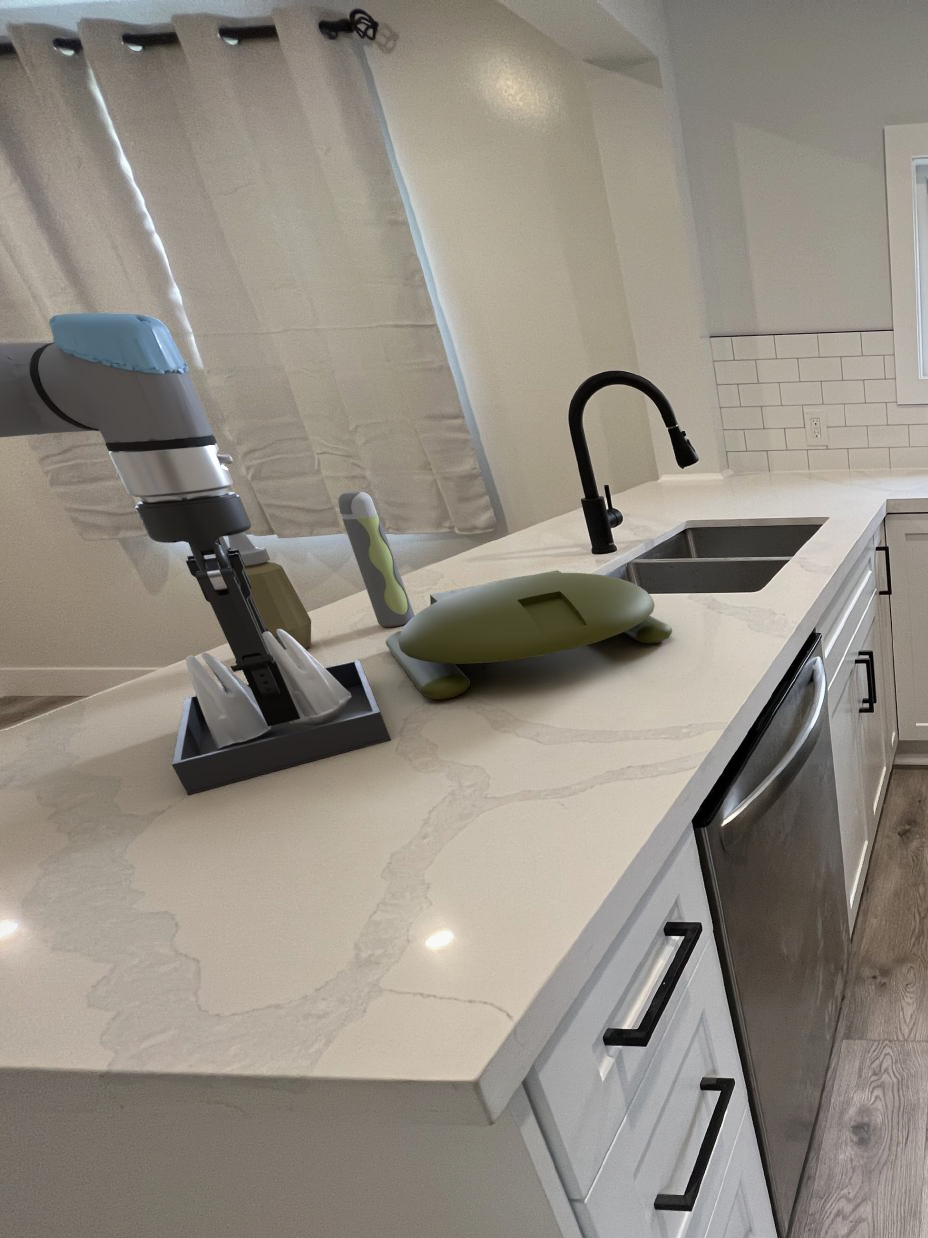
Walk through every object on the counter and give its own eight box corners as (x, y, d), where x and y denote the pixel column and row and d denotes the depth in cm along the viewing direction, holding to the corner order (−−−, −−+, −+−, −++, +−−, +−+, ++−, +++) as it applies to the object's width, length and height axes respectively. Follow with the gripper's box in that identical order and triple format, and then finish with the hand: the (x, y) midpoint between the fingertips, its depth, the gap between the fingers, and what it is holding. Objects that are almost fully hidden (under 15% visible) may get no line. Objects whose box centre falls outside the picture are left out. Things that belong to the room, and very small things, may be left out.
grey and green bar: (423, 620, 119) (379, 490, 111) (392, 629, 115) (344, 495, 107) (403, 617, 121) (359, 489, 113) (372, 626, 117) (323, 494, 109)
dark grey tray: (198, 723, 86) (185, 697, 85) (368, 683, 95) (359, 659, 94) (187, 795, 71) (171, 764, 70) (390, 739, 80) (380, 711, 79)
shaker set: (358, 709, 87) (322, 618, 83) (353, 723, 84) (314, 628, 79) (226, 734, 82) (180, 638, 78) (214, 750, 79) (165, 651, 74)
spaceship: (385, 648, 107) (361, 581, 103) (603, 600, 126) (590, 541, 122) (440, 724, 83) (410, 641, 79) (699, 651, 102) (686, 580, 98)
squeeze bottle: (234, 660, 105) (174, 530, 97) (288, 640, 112) (237, 518, 105) (283, 661, 104) (226, 530, 96) (334, 641, 111) (286, 518, 103)
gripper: (235, 499, 68) (331, 729, 78) (237, 481, 81) (320, 681, 91) (120, 511, 64) (237, 753, 74) (141, 490, 77) (239, 699, 86)
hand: (283, 713), depth 82 cm, fingers closed on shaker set, 5 cm apart
